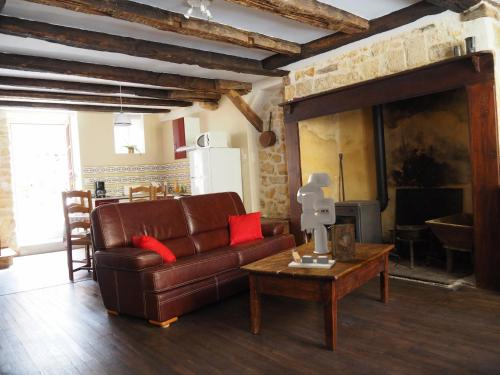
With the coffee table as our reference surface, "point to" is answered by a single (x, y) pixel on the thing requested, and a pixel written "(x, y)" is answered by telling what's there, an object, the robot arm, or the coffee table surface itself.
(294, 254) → the tan wooden bar
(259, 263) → the coffee table surface
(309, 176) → the robot arm
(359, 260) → the coffee table surface
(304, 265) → the board
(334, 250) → the book
